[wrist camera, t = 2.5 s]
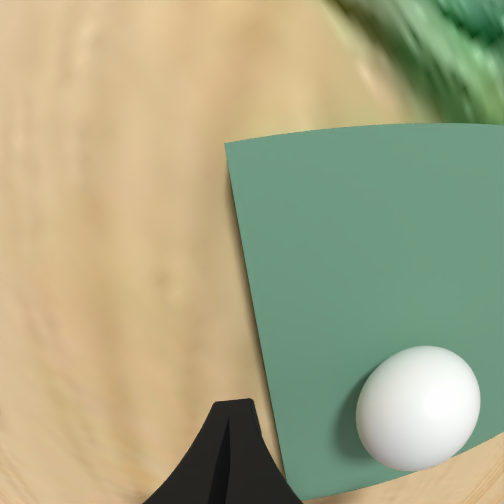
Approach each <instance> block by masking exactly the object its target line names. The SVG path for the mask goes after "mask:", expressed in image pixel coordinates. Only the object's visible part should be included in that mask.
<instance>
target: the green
mask: <svg viewBox="0 0 504 504" xmlns="http://www.w3.org/2000/svg"><path fill="white" fill-rule="evenodd" d="M224 144H225V150H226V156H227V162H228V167H229V173H230V179H231V184H232V190H233V196H234V201H235V207H236V212H237V218H238V224H239V229H240V235H241V240H242V246H243V251H244V257H245V262H246V268H247V273H248V279H249V284H250V290H251V295H252V301H253V306H254V311H255V317H256V322H257V328H258V333H259V338H260V344H261V349H262V354H263V360H264V365H265V370H266V376H267V381H268V386H269V391H270V397H271V402H272V407H273V412H274V418H275V423H276V428H277V433H278V438H279V444H280V449H281V454H282V459H283V464H284V469H285V474H286V479H287V483H288V485H289V486H290V487H291V489H292V490H293V492H294V493H295V494H296V495H297V497H298V498H299V499H300V500H301V501H303V500H309V499H315V498H320V497H326V496H331V495H335V494H340V493H345V492H349V491H353V490H357V489H361V488H365V487H369V486H372V485H376V484H379V483H383V482H386V481H389V480H393V479H396V478H399V477H402V476H405V475H408V474H411V473H414V472H416V471H400V470H395V469H392V468H389V467H387V466H385V465H383V464H381V463H380V462H378V461H377V460H375V459H374V458H373V457H372V456H371V455H370V454H369V453H368V452H367V450H366V449H365V447H364V446H363V444H362V442H361V440H360V438H359V434H358V430H357V426H356V408H357V402H358V399H359V396H360V392H361V390H362V388H363V386H364V384H365V382H366V381H367V379H368V377H369V376H370V375H371V373H372V372H373V371H374V370H375V369H376V368H377V367H378V366H379V365H380V364H381V363H382V362H383V361H385V360H386V359H387V358H389V357H390V356H392V355H394V354H396V353H398V352H400V351H402V350H405V349H408V348H411V347H416V346H436V347H441V348H444V349H447V350H449V351H452V352H453V353H455V354H457V355H458V356H460V357H461V358H462V359H463V360H464V361H465V362H466V363H467V364H468V365H469V366H470V368H471V369H472V371H473V373H474V375H475V377H476V379H477V382H478V385H479V389H480V400H481V402H480V412H479V416H478V420H477V423H476V425H475V428H474V430H473V432H472V434H471V436H470V437H469V439H468V440H467V442H466V443H465V444H464V445H463V447H462V448H461V449H460V450H459V451H458V452H457V453H456V454H454V455H453V456H452V457H454V456H456V455H458V454H460V453H463V452H465V451H467V450H469V449H471V448H473V447H475V446H477V445H479V444H481V443H483V442H485V441H487V440H489V439H491V438H493V437H495V436H496V435H498V434H500V433H502V432H504V125H490V124H464V123H414V124H387V125H369V126H355V127H343V128H332V129H322V130H312V131H304V132H295V133H288V134H280V135H273V136H266V137H260V138H253V139H247V140H241V141H235V142H229V143H224Z"/></svg>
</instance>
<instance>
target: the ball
mask: <svg viewBox="0 0 504 504" xmlns="http://www.w3.org/2000/svg"><path fill="white" fill-rule="evenodd" d="M480 402H481V400H480V389H479V385H478V382H477V379H476V377H475V375H474V373H473V371H472V369H471V368H470V366H469V365H468V364H467V363H466V362H465V361H464V360H463V359H462V358H461V357H460V356H458V355H457V354H455V353H453V352H452V351H449V350H447V349H444V348H441V347H436V346H416V347H411V348H408V349H405V350H402V351H400V352H398V353H396V354H394V355H392V356H390V357H389V358H387V359H386V360H385V361H383V362H382V363H381V364H380V365H379V366H378V367H377V368H376V369H375V370H374V371H373V372H372V373H371V375H370V376H369V377H368V379H367V381H366V382H365V384H364V386H363V388H362V390H361V392H360V396H359V399H358V402H357V408H356V426H357V430H358V434H359V438H360V440H361V442H362V444H363V446H364V447H365V449H366V450H367V452H368V453H369V454H370V455H371V456H372V457H373V458H374V459H375V460H377V461H378V462H380V463H381V464H383V465H385V466H387V467H389V468H392V469H395V470H400V471H420V470H426V469H429V468H432V467H435V466H437V465H439V464H441V463H443V462H445V461H446V460H448V459H449V458H451V457H452V456H453V455H454V454H456V453H457V452H458V451H459V450H460V449H461V448H462V447H463V445H464V444H465V443H466V442H467V440H468V439H469V437H470V436H471V434H472V432H473V430H474V428H475V425H476V423H477V420H478V416H479V412H480Z"/></svg>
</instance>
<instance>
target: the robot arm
mask: <svg viewBox="0 0 504 504" xmlns="http://www.w3.org/2000/svg"><path fill="white" fill-rule="evenodd" d="M143 504H303V503H302V502H301V500H300V499H299V498H298V497H297V495H296V494H295V493H294V492H293V490H292V489H291V487H290V486H289V485H288V483H287V482H286V480H285V479H284V477H283V476H282V474H281V473H280V471H279V469H278V468H277V466H276V464H275V462H274V461H273V459H272V457H271V455H270V453H269V451H268V449H267V447H266V445H265V443H264V440H263V438H262V434H261V429H260V425H259V421H258V417H257V413H256V409H255V405H254V401H253V400H252V399H250V398H247V399H238V400H229V401H218V402H215V403H214V404H213V405H212V408H211V410H210V412H209V414H208V416H207V418H206V420H205V422H204V424H203V426H202V428H201V430H200V431H199V433H198V435H197V437H196V438H195V440H194V442H193V443H192V445H191V447H190V448H189V450H188V451H187V453H186V454H185V456H184V457H183V459H182V460H181V461H180V463H179V464H178V466H177V467H176V468H175V470H174V471H173V472H172V473H171V475H170V476H169V477H168V478H167V479H166V481H165V482H164V483H163V484H162V485H161V486H160V487H159V488H158V489H157V490H156V491H155V492H154V493H153V494H152V495H151V496H150V497H149V498H148V499H147V500H146V501H145V502H144V503H143Z"/></svg>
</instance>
